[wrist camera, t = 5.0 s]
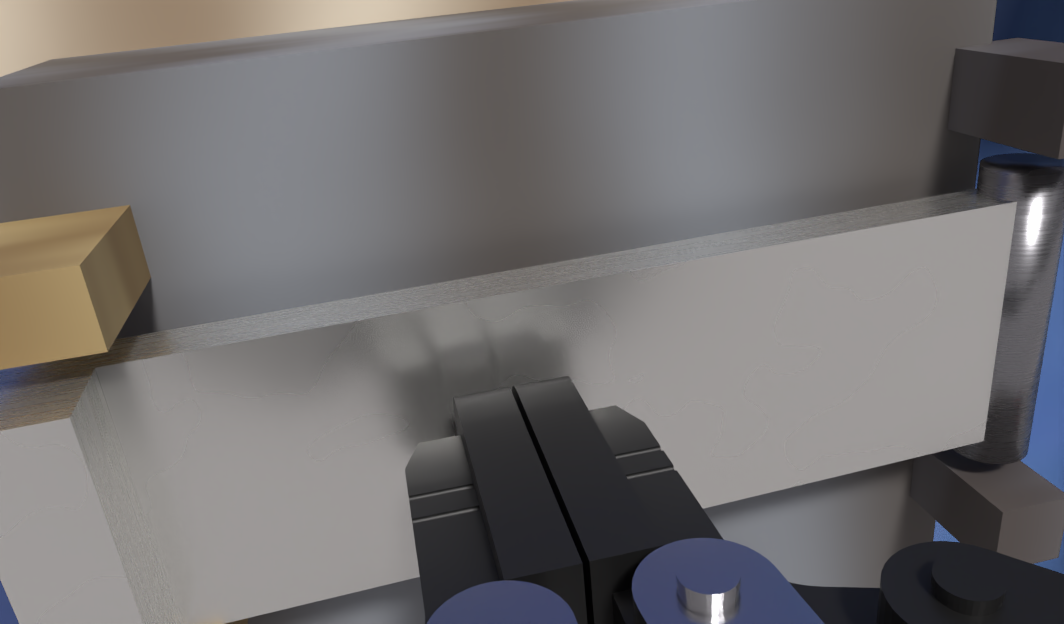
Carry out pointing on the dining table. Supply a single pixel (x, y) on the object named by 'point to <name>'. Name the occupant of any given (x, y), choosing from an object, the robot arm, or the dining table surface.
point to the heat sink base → (497, 183)
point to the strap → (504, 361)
